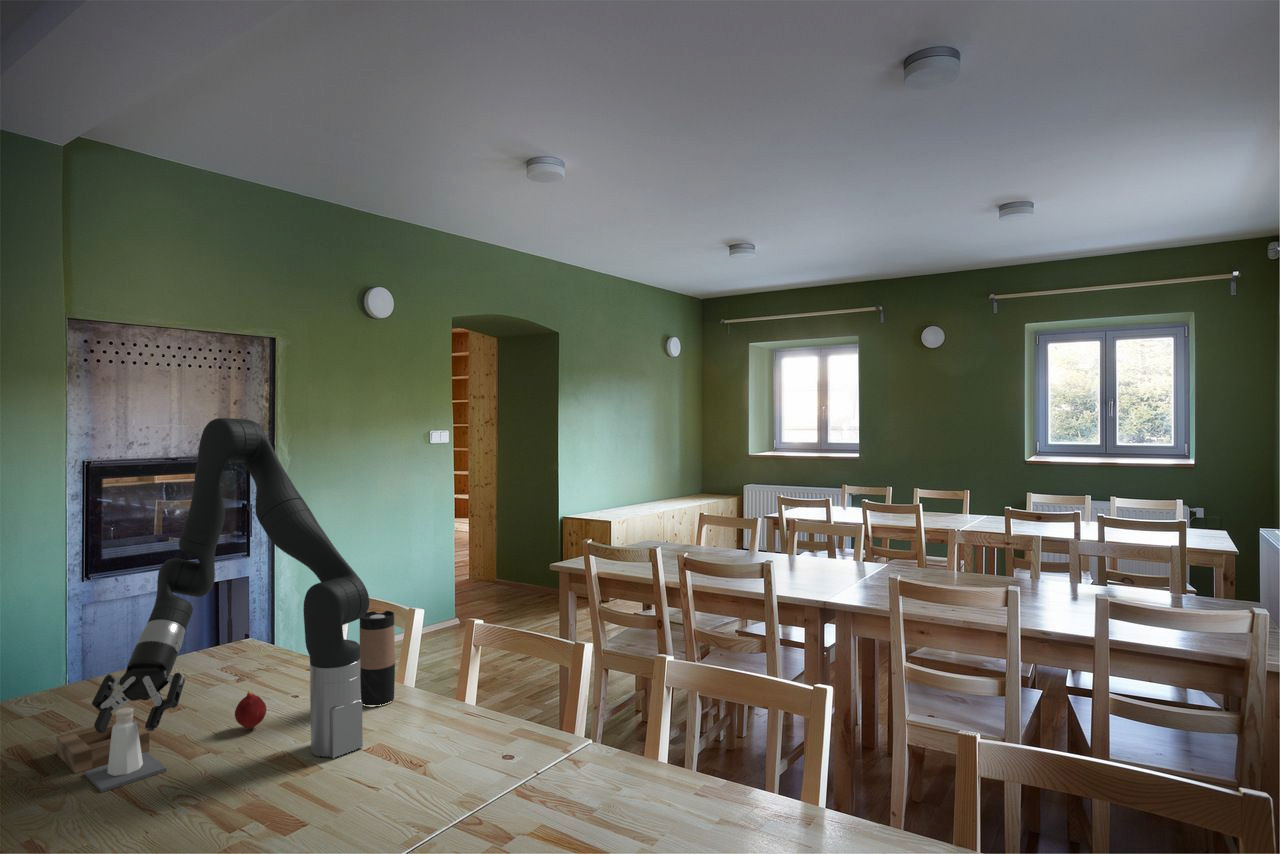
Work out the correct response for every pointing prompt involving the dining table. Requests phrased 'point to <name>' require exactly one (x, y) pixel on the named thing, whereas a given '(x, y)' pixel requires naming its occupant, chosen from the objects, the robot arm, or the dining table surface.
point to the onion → (250, 711)
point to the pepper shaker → (124, 745)
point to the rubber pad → (109, 781)
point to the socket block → (91, 747)
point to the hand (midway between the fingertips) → (124, 730)
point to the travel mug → (377, 658)
